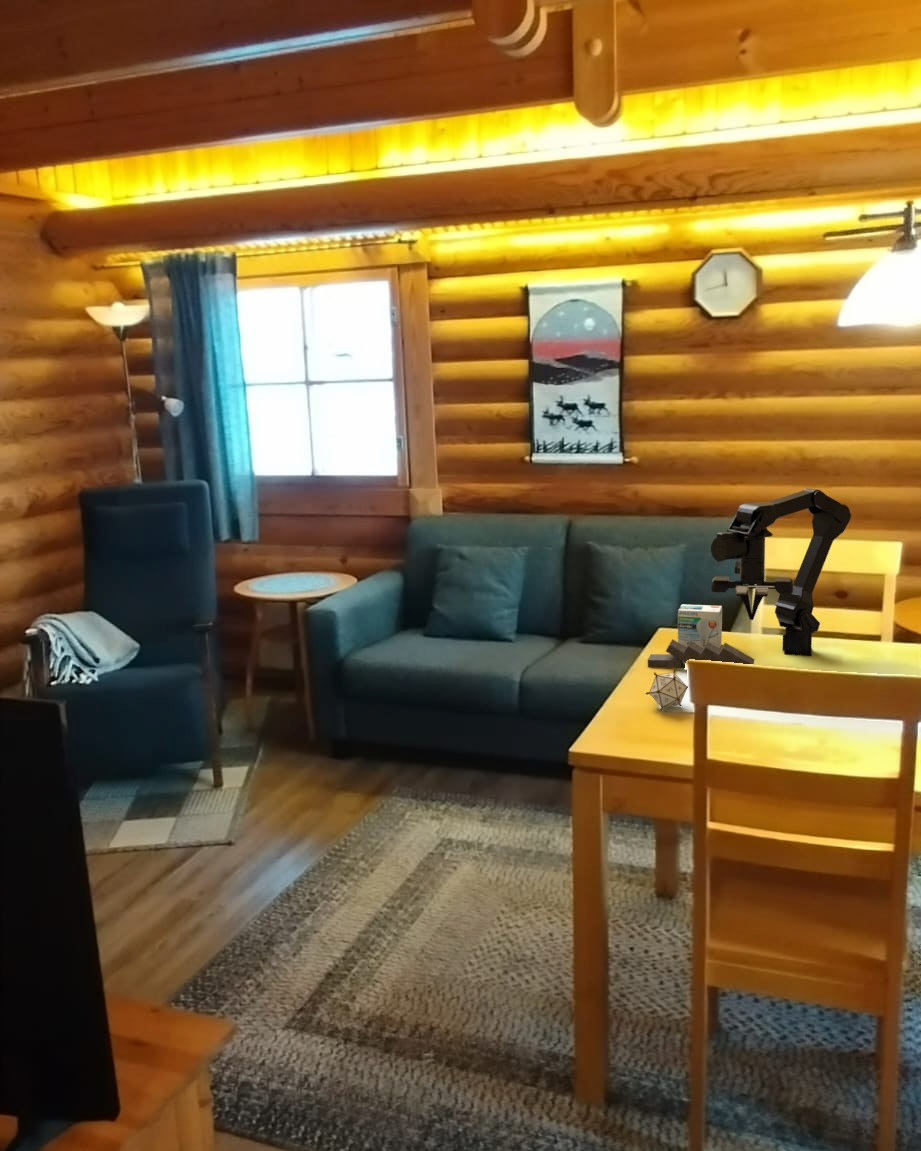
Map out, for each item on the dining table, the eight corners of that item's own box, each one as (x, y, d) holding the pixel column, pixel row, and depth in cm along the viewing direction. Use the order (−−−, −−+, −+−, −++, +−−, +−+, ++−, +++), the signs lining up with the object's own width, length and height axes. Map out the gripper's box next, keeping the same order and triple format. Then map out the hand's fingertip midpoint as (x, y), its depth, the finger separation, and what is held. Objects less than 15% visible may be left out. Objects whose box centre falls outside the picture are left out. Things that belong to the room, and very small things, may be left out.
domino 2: (701, 656, 249) (672, 639, 251) (699, 661, 245) (669, 644, 246) (697, 662, 250) (668, 645, 251) (694, 668, 245) (665, 651, 247)
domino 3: (719, 657, 248) (690, 640, 249) (717, 663, 243) (687, 646, 245) (715, 664, 249) (686, 647, 250) (713, 670, 244) (683, 652, 246)
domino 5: (754, 659, 245) (724, 642, 247) (753, 665, 241) (723, 648, 242) (750, 666, 246) (720, 649, 247) (749, 672, 241) (718, 654, 243)
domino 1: (683, 654, 251) (650, 654, 253) (680, 660, 246) (647, 659, 249) (683, 662, 251) (651, 661, 254) (681, 668, 247) (647, 667, 249)
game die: (675, 725, 220) (690, 699, 213) (638, 711, 221) (652, 684, 214) (683, 695, 226) (698, 668, 219) (647, 681, 227) (660, 654, 220)
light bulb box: (677, 650, 263) (677, 609, 260) (680, 643, 269) (680, 603, 267) (719, 652, 259) (720, 611, 257) (722, 645, 265) (722, 605, 263)
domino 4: (737, 658, 247) (707, 641, 248) (735, 664, 242) (705, 647, 244) (732, 665, 247) (703, 648, 249) (731, 671, 243) (701, 654, 244)
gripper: (792, 550, 249) (791, 612, 252) (714, 549, 255) (713, 610, 258) (793, 559, 239) (792, 623, 242) (711, 558, 244) (711, 621, 247)
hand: (751, 619), depth 248 cm, fingers closed
